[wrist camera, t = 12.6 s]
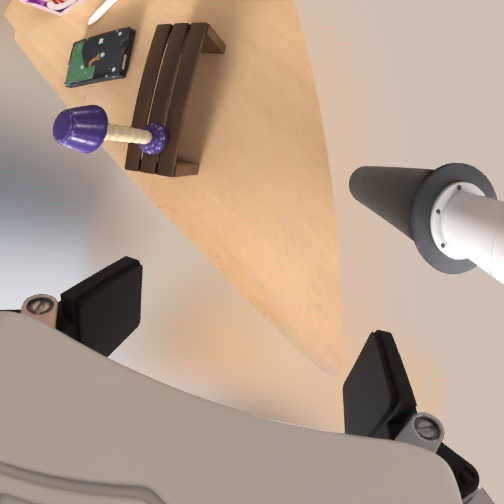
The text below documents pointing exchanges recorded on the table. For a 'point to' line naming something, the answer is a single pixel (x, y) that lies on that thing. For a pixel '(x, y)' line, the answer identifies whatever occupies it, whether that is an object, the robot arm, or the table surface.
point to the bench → (169, 93)
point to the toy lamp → (103, 131)
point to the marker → (101, 11)
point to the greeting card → (53, 5)
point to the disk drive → (100, 58)
